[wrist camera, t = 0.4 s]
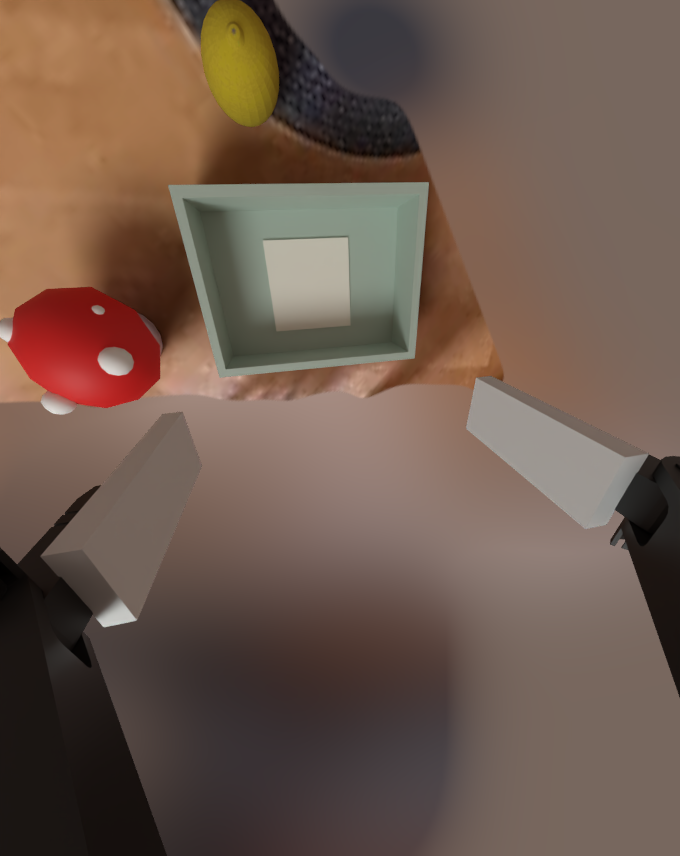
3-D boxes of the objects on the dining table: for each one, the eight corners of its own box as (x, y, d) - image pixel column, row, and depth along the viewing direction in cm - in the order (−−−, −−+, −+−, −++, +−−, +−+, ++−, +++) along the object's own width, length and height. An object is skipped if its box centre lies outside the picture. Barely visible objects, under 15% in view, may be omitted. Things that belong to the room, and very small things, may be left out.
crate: (191, 203, 27) (168, 185, 22) (401, 199, 30) (428, 182, 25) (229, 361, 35) (219, 377, 29) (394, 346, 38) (414, 358, 32)
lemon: (258, 39, 23) (248, -62, 16) (290, 126, 26) (293, 71, 19) (200, 71, 23) (165, -16, 17) (237, 154, 26) (221, 110, 19)
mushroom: (78, 372, 32) (-18, 417, 22) (64, 268, 28) (-65, 263, 18) (179, 390, 35) (137, 437, 25) (182, 298, 31) (131, 310, 21)
